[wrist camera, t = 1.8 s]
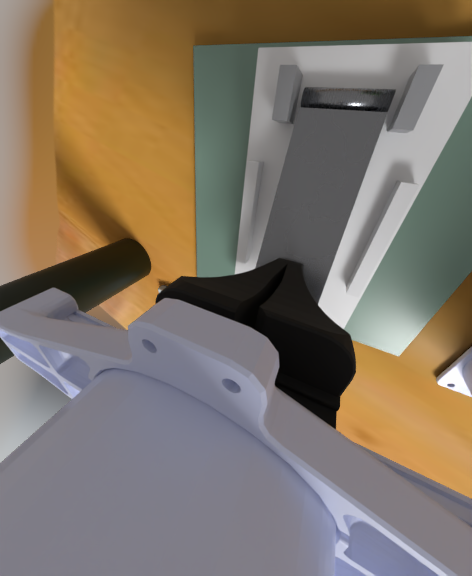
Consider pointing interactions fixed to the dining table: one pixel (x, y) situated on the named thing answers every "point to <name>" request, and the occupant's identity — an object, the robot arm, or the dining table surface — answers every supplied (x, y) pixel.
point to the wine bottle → (82, 279)
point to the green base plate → (376, 184)
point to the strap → (323, 177)
